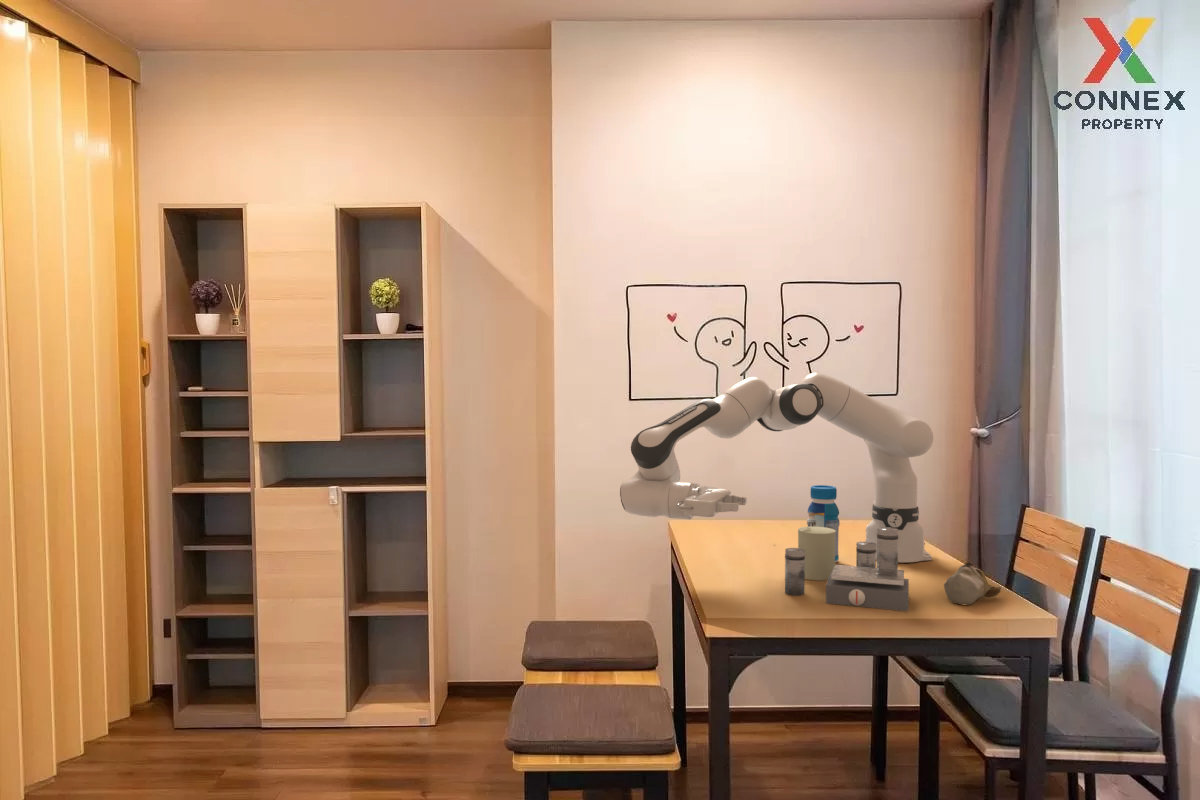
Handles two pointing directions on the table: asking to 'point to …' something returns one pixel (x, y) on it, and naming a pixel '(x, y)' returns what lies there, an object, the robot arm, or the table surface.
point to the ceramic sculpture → (968, 585)
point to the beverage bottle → (824, 510)
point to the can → (817, 551)
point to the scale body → (868, 594)
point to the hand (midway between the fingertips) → (742, 504)
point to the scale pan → (865, 575)
